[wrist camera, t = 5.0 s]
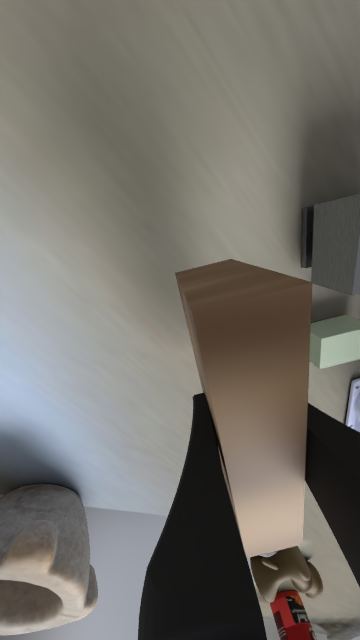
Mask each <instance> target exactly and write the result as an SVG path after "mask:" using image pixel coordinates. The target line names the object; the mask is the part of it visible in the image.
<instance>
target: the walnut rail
mask: <svg viewBox="0 0 360 640" xmlns="http://www.w3.org/2000/svg"><path fill="white" fill-rule="evenodd" d="M175 274H176V279H177V283H178V287H179V291H180V295H181V300H182V304H183V308H184V312H185V317H186V321H187V325H188V329H189V334H190V338H191V342H192V346H193V351H194V355H195V359H196V363H197V368H198V372H199V376H200V380H201V385H202V389H203V393H205V395H206V398H207V402H208V405H209V409H210V413H211V417H212V422H213V426H214V430H215V435H216V439H217V444H218V449H219V454H220V459H221V465H222V470H223V474H224V478H225V482H226V485H227V489H228V493H229V496H230V500H231V504H232V507H233V511H234V514H235V518H236V522H237V525H238V529H239V533H240V536H241V540H242V543H243V547H244V551H245V554H246V558H249V557H253V556H257V555H261V554H266V553H270V552H274V551H278V550H282V549H286V548H290V547H294V546H299V545H302V541H303V514H304V488H305V462H306V435H307V409H308V383H309V356H310V330H311V303H312V282H309V281H305V280H302V279H299V278H295V277H292V276H288V275H285V274H281V273H278V272H274V271H271V270H267V269H264V268H260V267H257V266H253V265H250V264H246V263H243V262H240V261H236V260H233V259H229V260H225V261H221V262H217V263H213V264H209V265H205V266H201V267H197V268H193V269H189V270H185V271H181V272H177V273H175Z"/></svg>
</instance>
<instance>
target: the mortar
mask: <svg viewBox="0 0 360 640" xmlns="http://www.w3.org/2000/svg"><path fill="white" fill-rule="evenodd" d="M97 597H98V589H97V581H96V575H95V571H94V568H93V567H92V565H91V564H90V545H89V534H88V526H87V520H86V514H85V510H84V506H83V503H82V501H81V499H80V497H79V496H78V495H77V494H76V493H75V492H74V491H72V490H70V489H68V488H65V487H62V486H58V485H52V484H34V485H27V486H23V487H20V488H17V489H15V490H13V491H11V492H9V493H8V494H6V495H4V496H3V497H1V498H0V635H14V634H23V633H29V632H34V631H39V630H45V629H49V628H54V627H58V626H61V625H64V624H66V623H69V622H73V621H77V620H80V619H82V618H84V617H85V616H86V615H88V614H89V613H90V612H91V611H92V610H93V608H94V607H95V604H96V602H97Z"/></svg>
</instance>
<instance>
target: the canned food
mask: <svg viewBox="0 0 360 640" xmlns="http://www.w3.org/2000/svg"><path fill="white" fill-rule="evenodd" d="M270 606H271V609H272V612H273V616H274V619H275V623H276V626H277V629H278V633H279V636H280V639H281V640H317V639H316V636H315V634H314V631H313V629H312V626H311V624H310V621H309V618H308V616H307V613H306V611H305V608H304V606H303V603H302V601H301V598H300V596H299V594H298V593H297V592H296V591H294V590H288V591H283V592H279V593H277V594H276V596H275V599H274V602H271V603H270Z"/></svg>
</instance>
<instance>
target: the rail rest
mask: <svg viewBox="0 0 360 640" xmlns="http://www.w3.org/2000/svg"><path fill="white" fill-rule="evenodd" d="M358 359H360V320H358V319H356V318H353V317H351V316H349V315H342V316H338V317H334V318H330V319H326V320H322V321H318V322H314V323H311V330H310V356H309V361H311V362H312V363H313V364H314V365H315V366H317V367H318V368H319V369H322V368H326V367H330V366H334V365H338V364H342V363H346V362H350V361H354V360H358Z"/></svg>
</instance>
